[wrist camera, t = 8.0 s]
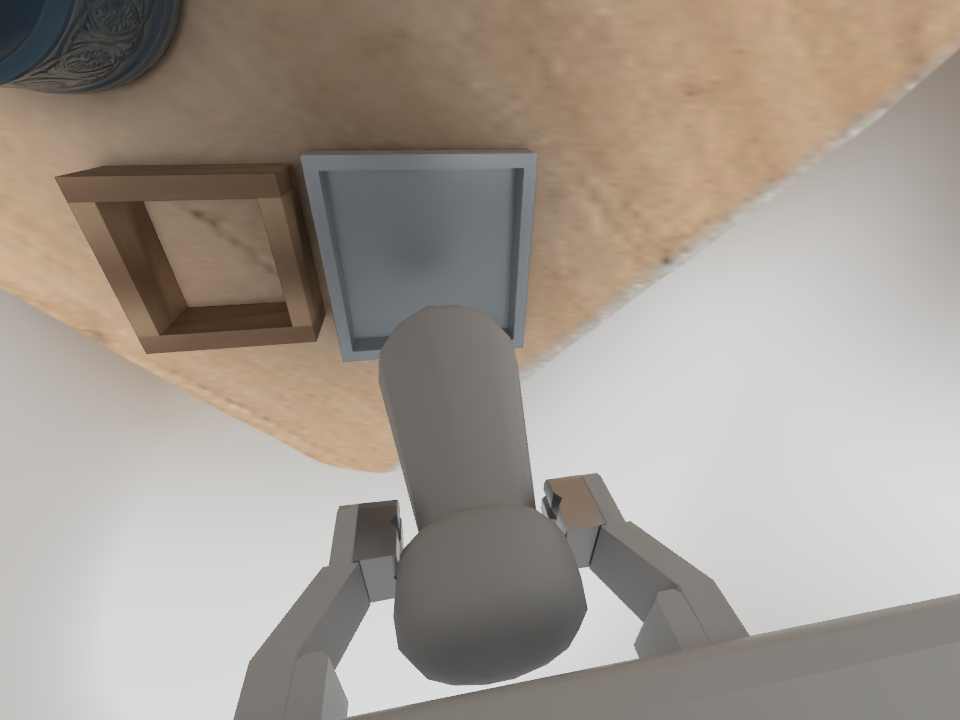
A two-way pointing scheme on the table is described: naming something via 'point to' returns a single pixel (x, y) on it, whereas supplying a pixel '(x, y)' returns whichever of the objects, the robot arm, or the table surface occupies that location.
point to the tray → (421, 236)
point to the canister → (82, 42)
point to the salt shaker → (472, 507)
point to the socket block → (146, 271)
